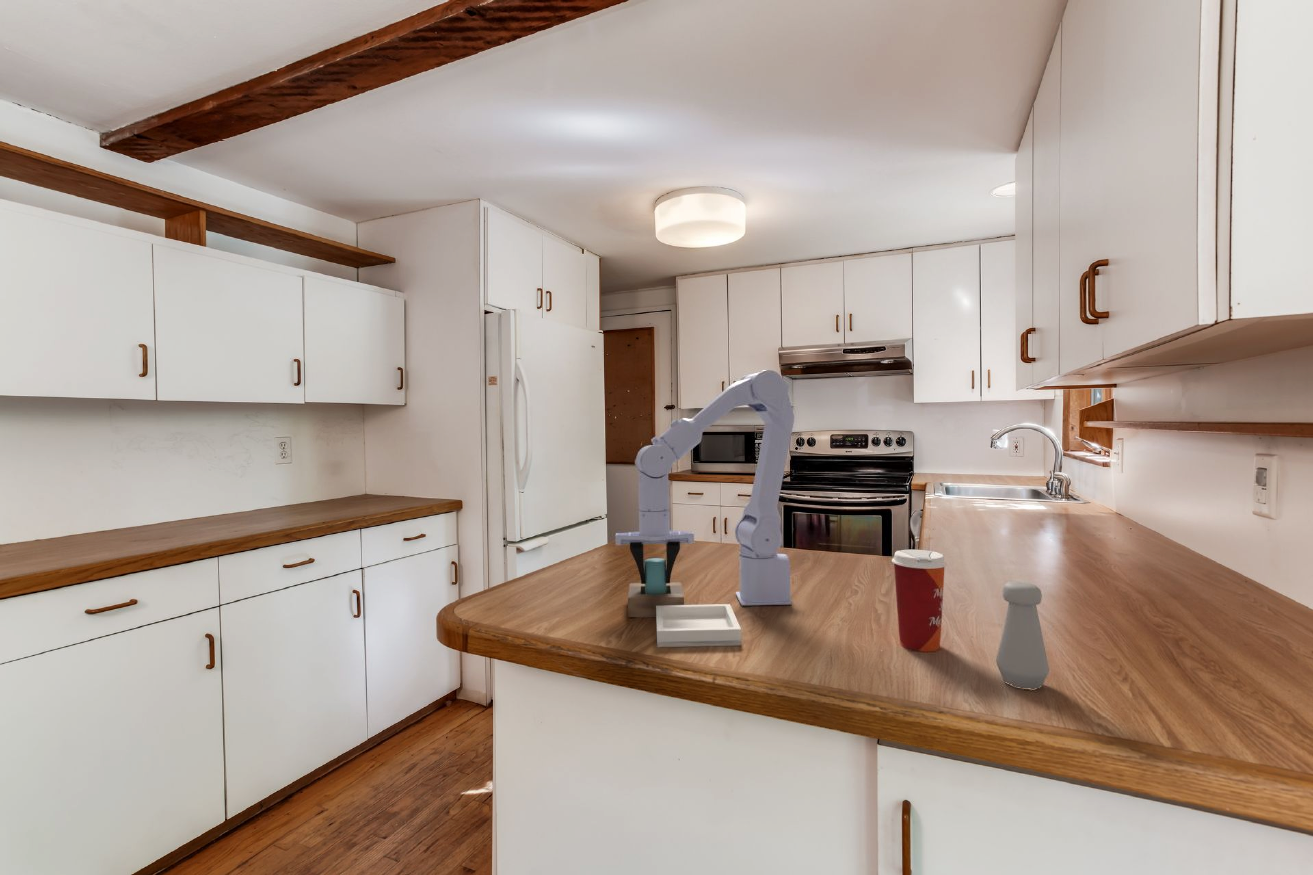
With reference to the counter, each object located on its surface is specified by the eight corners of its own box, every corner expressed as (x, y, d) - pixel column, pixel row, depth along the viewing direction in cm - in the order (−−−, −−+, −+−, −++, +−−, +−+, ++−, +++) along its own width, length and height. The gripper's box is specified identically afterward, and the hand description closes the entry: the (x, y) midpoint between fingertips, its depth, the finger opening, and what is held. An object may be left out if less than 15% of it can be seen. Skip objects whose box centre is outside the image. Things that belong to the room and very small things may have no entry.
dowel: (666, 605, 114) (665, 558, 114) (667, 611, 110) (666, 562, 110) (645, 605, 114) (644, 558, 114) (645, 612, 110) (644, 563, 110)
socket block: (681, 600, 117) (681, 582, 117) (684, 616, 107) (683, 597, 107) (630, 601, 117) (629, 583, 117) (628, 617, 107) (627, 598, 107)
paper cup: (954, 656, 87) (953, 560, 87) (897, 653, 88) (896, 558, 88) (939, 637, 94) (939, 549, 94) (888, 634, 96) (887, 547, 96)
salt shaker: (986, 675, 80) (985, 578, 80) (1027, 673, 81) (1026, 577, 80) (1016, 694, 74) (1015, 590, 74) (1060, 692, 75) (1059, 588, 75)
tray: (730, 618, 106) (729, 604, 106) (741, 645, 93) (741, 629, 93) (656, 619, 105) (656, 605, 105) (657, 647, 92) (657, 631, 92)
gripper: (613, 513, 107) (615, 589, 108) (694, 512, 108) (695, 587, 108) (616, 508, 115) (617, 578, 115) (691, 506, 115) (693, 577, 115)
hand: (655, 582), depth 112 cm, fingers closed on dowel, 4 cm apart
